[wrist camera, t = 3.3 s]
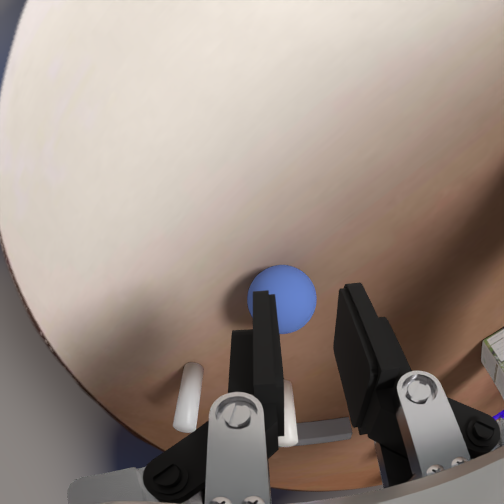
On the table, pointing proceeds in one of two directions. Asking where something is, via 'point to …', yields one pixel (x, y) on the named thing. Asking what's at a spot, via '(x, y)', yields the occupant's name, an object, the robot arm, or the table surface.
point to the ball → (286, 295)
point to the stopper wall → (323, 431)
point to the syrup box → (494, 358)
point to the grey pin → (189, 398)
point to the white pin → (288, 418)
